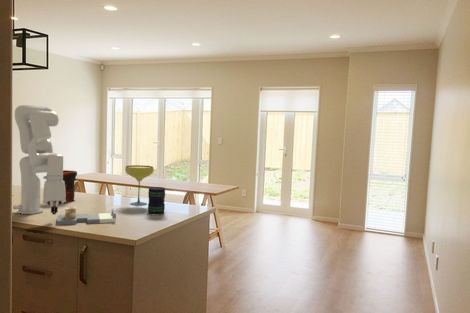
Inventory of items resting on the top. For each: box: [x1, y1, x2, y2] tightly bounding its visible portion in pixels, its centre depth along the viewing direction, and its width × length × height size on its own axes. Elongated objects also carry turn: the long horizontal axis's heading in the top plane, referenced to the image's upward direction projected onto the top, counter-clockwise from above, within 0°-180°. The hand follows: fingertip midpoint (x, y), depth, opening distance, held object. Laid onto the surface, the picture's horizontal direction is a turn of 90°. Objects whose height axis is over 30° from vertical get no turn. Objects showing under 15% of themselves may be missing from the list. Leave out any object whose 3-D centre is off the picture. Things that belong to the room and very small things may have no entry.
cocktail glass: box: [125, 164, 154, 207], centre depth 250 cm, size 18×18×25 cm
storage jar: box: [147, 186, 166, 215], centre depth 226 cm, size 10×10×15 cm
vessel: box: [63, 169, 78, 203], centre depth 250 cm, size 14×14×20 cm
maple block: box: [64, 206, 77, 219], centre depth 196 cm, size 5×5×5 cm
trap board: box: [56, 208, 117, 226], centre depth 200 cm, size 28×14×4 cm, turn 113°
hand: (54, 213), depth 193 cm, fingers closed
